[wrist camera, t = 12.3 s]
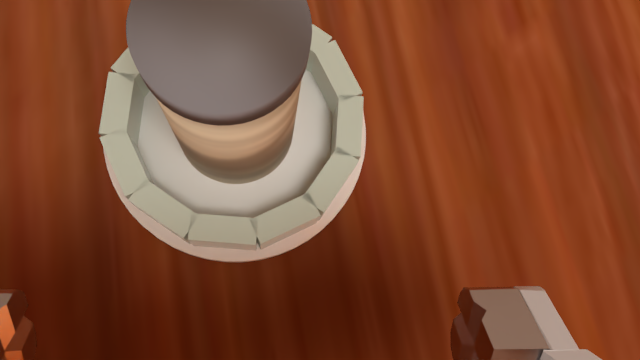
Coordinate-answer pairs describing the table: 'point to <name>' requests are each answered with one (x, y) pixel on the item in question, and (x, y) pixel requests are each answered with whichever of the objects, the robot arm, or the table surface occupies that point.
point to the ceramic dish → (237, 199)
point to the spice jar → (224, 77)
